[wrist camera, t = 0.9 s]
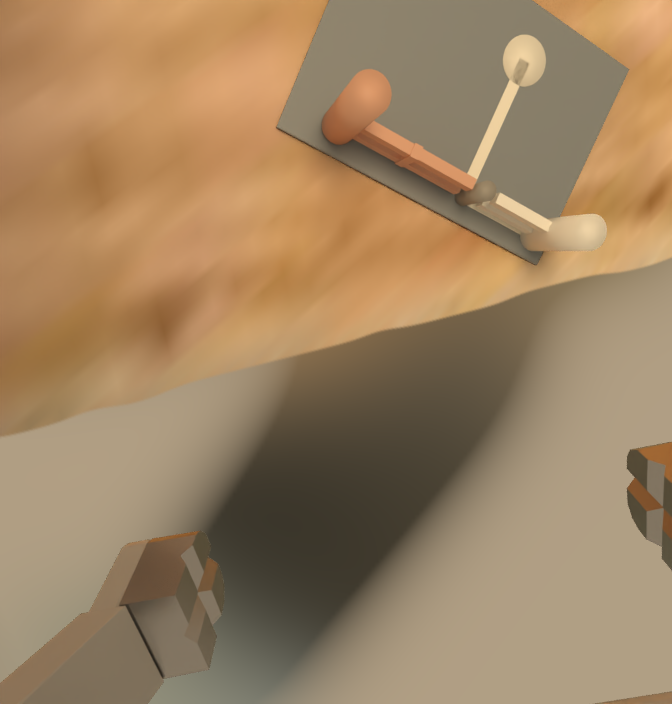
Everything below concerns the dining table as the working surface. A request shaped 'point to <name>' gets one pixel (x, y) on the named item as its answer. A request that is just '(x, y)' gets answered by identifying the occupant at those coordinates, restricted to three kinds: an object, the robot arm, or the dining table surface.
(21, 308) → the dining table surface
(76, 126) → the dining table surface
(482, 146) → the board
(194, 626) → the robot arm
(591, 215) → the fixed fence section
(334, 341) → the dining table surface
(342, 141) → the hinged fence section
